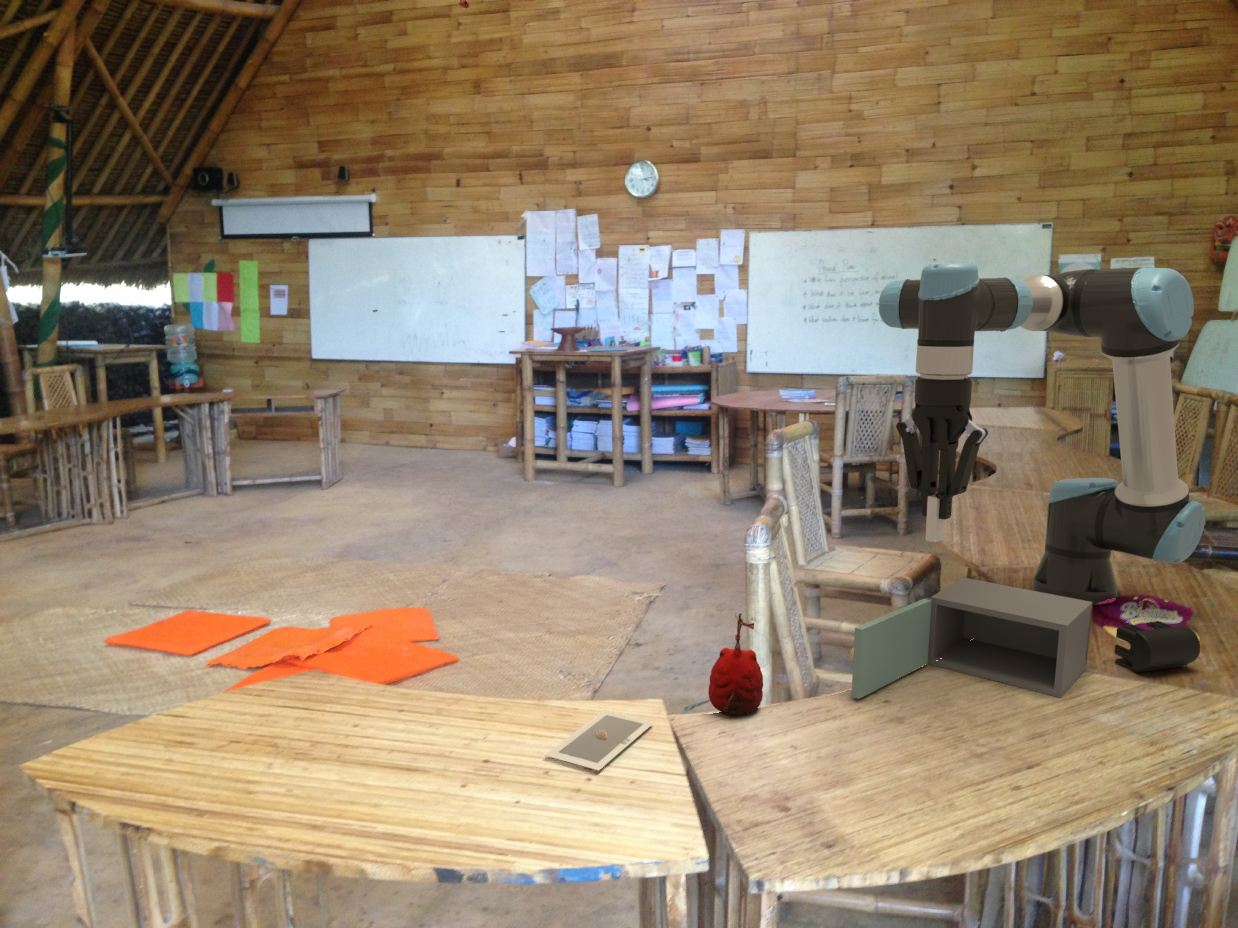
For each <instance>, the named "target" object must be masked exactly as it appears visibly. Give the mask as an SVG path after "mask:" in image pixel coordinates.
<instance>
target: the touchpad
mask: <svg viewBox="0 0 1238 928" xmlns="http://www.w3.org/2000/svg"><path fill="white" fill-rule="evenodd" d="M654 724H655V721H652V720H651V721H650V720H646V719H642V718H639V717H634V716H630V715H625V714H622V713H618V712H617V713H616V712H614V711H610V710H605V709H604V710H602V711H600V712H599V713H598V714H596V716H594V717H593V718H591V719H590V720H589V721H587V722H586V723H585V724H584V725H582V726H581V727H580V728H578V729H577V730H576V731H574V732H573V733H572V734H570V735H569V736H568V737H566V738H565V739H564V740H562V741H561V742H560V743H559V744H557V745H555V746H554V747H553V748H552V749H551V750H549V751H548V752H547V753H545V754H544V756H545V757H549V758H553V759H557V760H559V761H564V762H567V763H570V764H573V765H578V766H582V767H585V768H588V769H591V770H596V771H600V770H601V769H602V768H604V766H606V765H607V764H608V763H609V762H611V761H612V760H613V759H614V758H615V757H616V756H618V754H620V753H621V752H622V751H623V750H625V749H626V748H627V747H628V746H629V745H631V743H633V742H634V741H635V740H636V739H637V738H639V737H640V736H641V735H642V734H643V733H644V732H646V731H647V729H649V728H650V727H651V726H652V725H654Z"/></svg>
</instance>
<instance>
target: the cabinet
mask: <svg viewBox="0 0 1238 928" xmlns="http://www.w3.org/2000/svg"><path fill="white" fill-rule="evenodd" d="M930 598H931V599H932V607H931V623H930V638H929V653H928V663H927V664H926V665H931V666H935V667H939V668H943V669H947V670H951V671H954V672H958V673H963V674H965V675H970V676H973V677H974V676H975V677H978V678H982V679H986V680H989V679H992V680H991V681H993V680H994V682H997V681H999V682H998V683H1001V682H1004V683H1003V684H1005V683H1007V684H1006V685H1009V684H1010V686H1013V685H1014V687H1017V688H1020V687H1021V689H1024V690H1029V691H1032V692H1036V693H1037V692H1038V693H1040V694H1045V695H1049V696H1053V697H1056V698H1060V699H1061V698H1062V697H1063V696H1064V695H1065V694H1066V693H1067V691H1068V690H1069V689H1071V687H1072V686H1073V685H1074V684H1075V682H1077V680H1078V679H1079V678H1080V676H1081V675H1082V674H1083V673H1084V672H1085V671H1086V670H1087V663H1088V653H1089V643H1090V634H1091V633H1090V632H1091V631H1090V629H1091V624H1092V623H1091V621H1092V611H1093V605H1092V602H1089V601H1084V600H1079V599H1074V598H1069V597H1063V596H1058V595H1053V594H1048V593H1042V592H1037V591H1033V590H1032V589H1025V588H1022V587H1021V588H1020V587H1015V586H1012V585H1011V586H1010V585H1006V584H999V583H994V582H988V581H984V580H980V579H979V580H978V579H975V578H968V577H962V578H960V579H958V580H957V581H955V582H953V583H952V584H950V585H948V586H946V587H945V588H943V589H942V590H940V591H938V592H937V593H935V594H933V595H932V596H930ZM973 638H974V639H973ZM971 639H973V640H971ZM970 640H971V641H970ZM940 658H942V659H940ZM936 660H938V661H936ZM929 663H930V664H929Z"/></svg>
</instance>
